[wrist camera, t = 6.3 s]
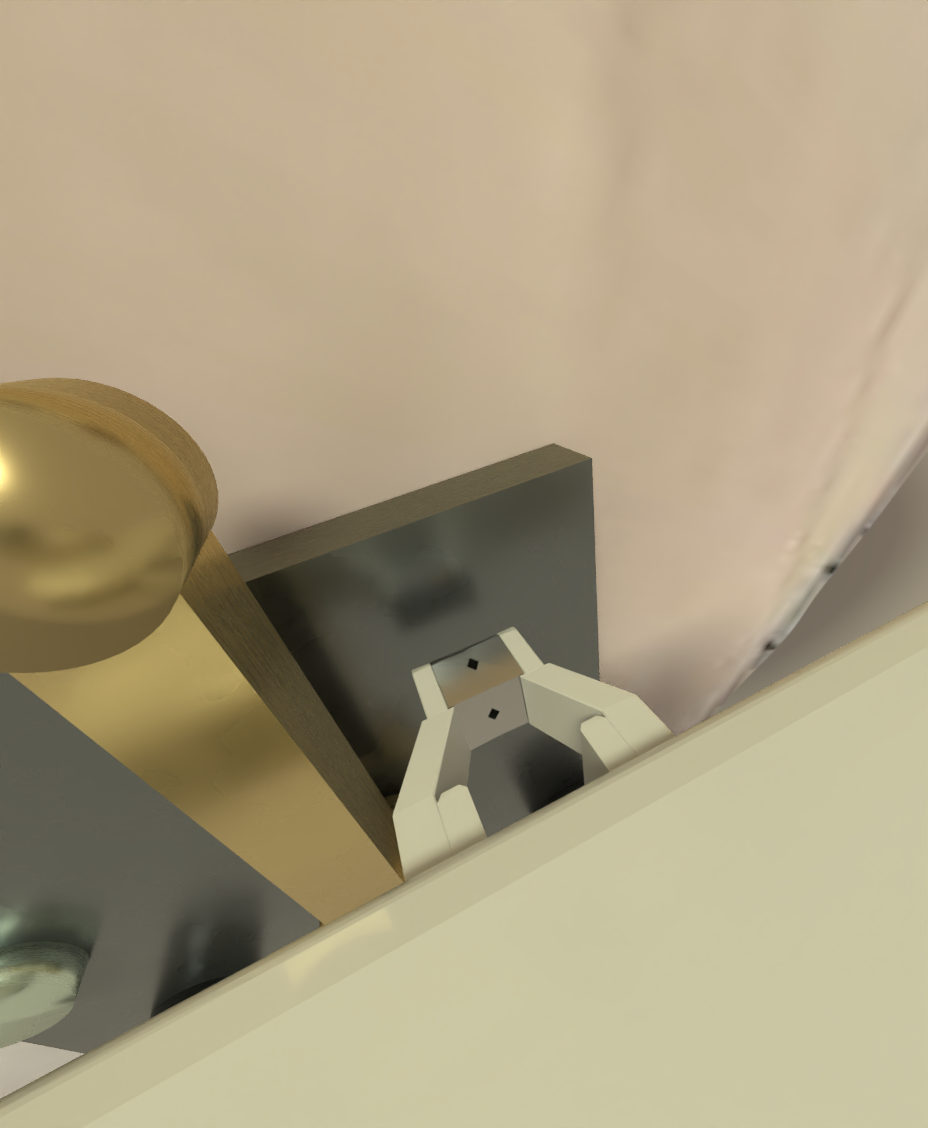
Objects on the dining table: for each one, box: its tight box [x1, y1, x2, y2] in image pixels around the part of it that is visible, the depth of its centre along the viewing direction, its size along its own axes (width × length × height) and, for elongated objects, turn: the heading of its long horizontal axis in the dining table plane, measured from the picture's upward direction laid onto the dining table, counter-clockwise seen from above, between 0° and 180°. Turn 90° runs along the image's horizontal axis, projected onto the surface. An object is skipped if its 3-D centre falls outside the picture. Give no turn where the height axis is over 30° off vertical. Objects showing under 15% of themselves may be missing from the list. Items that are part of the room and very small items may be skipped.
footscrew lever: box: [0, 378, 405, 928], centre depth 10 cm, size 19×5×4 cm, turn 13°
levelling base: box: [0, 443, 599, 1053], centre depth 14 cm, size 20×24×5 cm
